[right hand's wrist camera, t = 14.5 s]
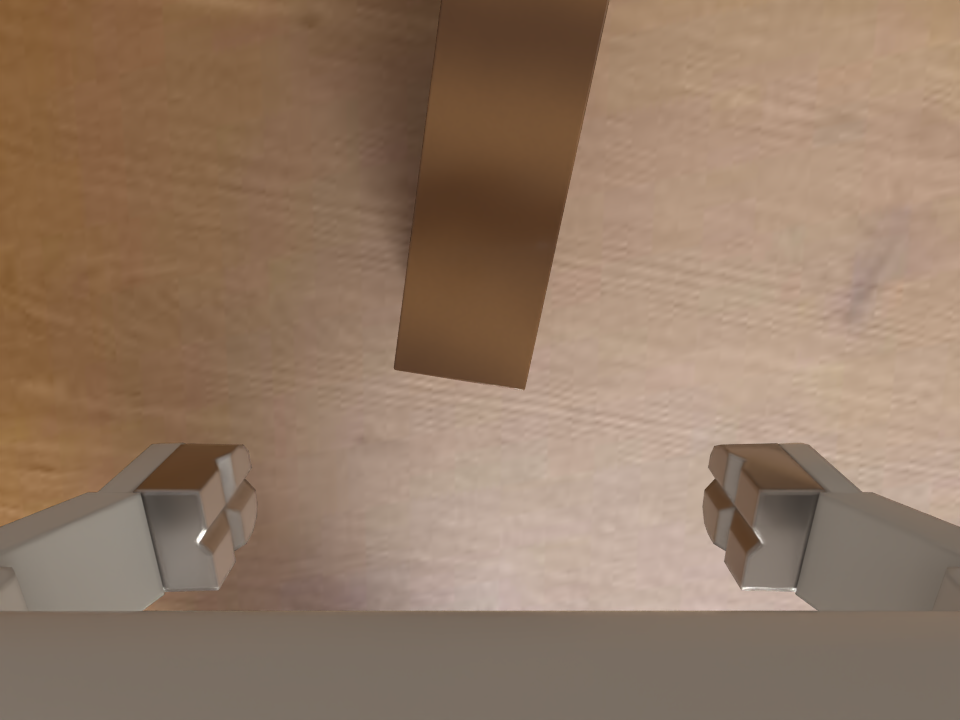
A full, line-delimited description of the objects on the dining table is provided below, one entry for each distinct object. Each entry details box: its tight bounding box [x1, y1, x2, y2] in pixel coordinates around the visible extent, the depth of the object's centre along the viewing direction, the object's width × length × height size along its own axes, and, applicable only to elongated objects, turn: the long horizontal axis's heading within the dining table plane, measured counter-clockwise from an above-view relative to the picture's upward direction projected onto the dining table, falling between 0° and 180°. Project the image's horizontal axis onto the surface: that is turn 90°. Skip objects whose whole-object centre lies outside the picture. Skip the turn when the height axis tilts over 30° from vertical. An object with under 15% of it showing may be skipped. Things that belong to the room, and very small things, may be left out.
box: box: [394, 0, 609, 390], centre depth 27 cm, size 26×6×10 cm, turn 170°
